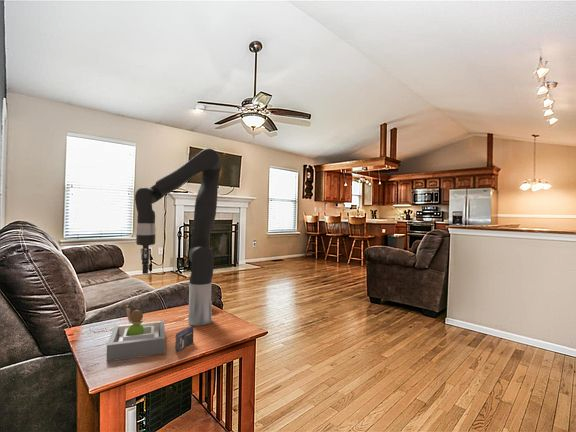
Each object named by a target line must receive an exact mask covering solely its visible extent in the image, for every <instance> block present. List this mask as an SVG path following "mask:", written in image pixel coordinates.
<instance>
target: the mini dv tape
mask: <svg viewBox="0 0 576 432" xmlns="http://www.w3.org/2000/svg"><path fill="white" fill-rule="evenodd" d="M194 330H195V329H194V327H193V325H189V326H188V327H186V328H185V329H183V330H180V331H178V332H177V333H175V342H174V344H175V346H174V347H175V348H174V349H175V350H174V351H175V352H176V353H180V352H182V351H183V350H185V349H186V348H189V346H191V345H193V344H194V332H195V331H194Z"/></svg>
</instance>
